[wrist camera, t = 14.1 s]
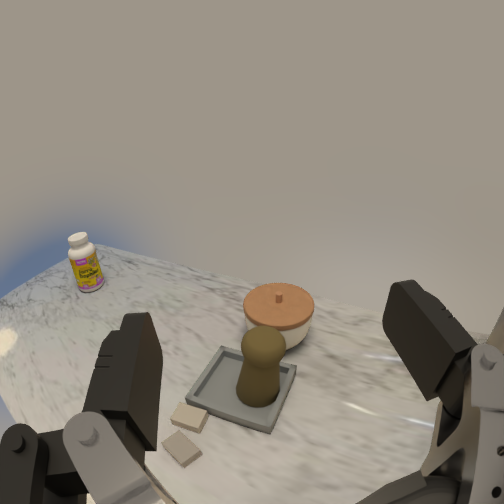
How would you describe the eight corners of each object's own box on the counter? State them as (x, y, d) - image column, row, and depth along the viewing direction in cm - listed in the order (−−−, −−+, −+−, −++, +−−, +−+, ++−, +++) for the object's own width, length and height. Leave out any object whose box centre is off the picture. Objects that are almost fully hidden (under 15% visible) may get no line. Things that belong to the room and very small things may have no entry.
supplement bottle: (82, 297, 59) (65, 246, 53) (77, 284, 64) (62, 236, 58) (107, 286, 63) (93, 235, 57) (100, 275, 67) (87, 227, 61)
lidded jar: (268, 310, 55) (268, 267, 51) (320, 331, 49) (326, 286, 45) (232, 344, 47) (227, 299, 43) (289, 372, 42) (293, 326, 37)
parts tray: (295, 374, 41) (296, 365, 40) (270, 434, 32) (270, 427, 32) (222, 354, 46) (221, 345, 45) (187, 405, 37) (184, 397, 36)
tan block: (208, 417, 35) (207, 410, 34) (200, 434, 33) (197, 428, 32) (182, 408, 36) (179, 402, 36) (173, 425, 34) (170, 418, 33)
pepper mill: (285, 402, 36) (299, 350, 31) (241, 411, 35) (244, 360, 29) (272, 369, 41) (281, 314, 36) (231, 376, 40) (232, 321, 34)
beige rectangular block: (202, 455, 30) (200, 449, 29) (184, 468, 28) (181, 463, 27) (182, 435, 32) (179, 429, 32) (164, 448, 30) (161, 442, 30)
